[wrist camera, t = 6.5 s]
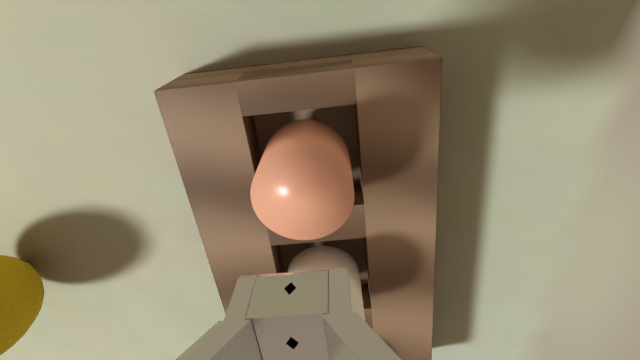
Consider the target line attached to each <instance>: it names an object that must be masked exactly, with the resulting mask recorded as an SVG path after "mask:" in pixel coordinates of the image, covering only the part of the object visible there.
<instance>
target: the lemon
mask: <svg viewBox="0 0 640 360" xmlns="http://www.w3.org/2000/svg"><path fill="white" fill-rule="evenodd" d="M43 297H44V287H43V282H42V279H41V278H40V276H39V274H38V273H37V272H36V270H35V269H34V268H33V267H32V265H31V264H30V263H29V262H24V261H22V260H19V259H17V258H14V257H10V256H3V255H0V355H2V354H3V353H4V352H6V351H7V350H8V349H9V348H11V347H12V346H13V345H14V344H15V343H16V342H17V341H18V340H19V339H20V338H21V337H22V336H23V335H24V334H25V333H26V332H27V330H28V329H29V328H30V326H31V325H32V323H33V322H34V320H35V319H36V317H37V315H38V314H39V311H40V309H41V306H42V303H43Z"/></svg>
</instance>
